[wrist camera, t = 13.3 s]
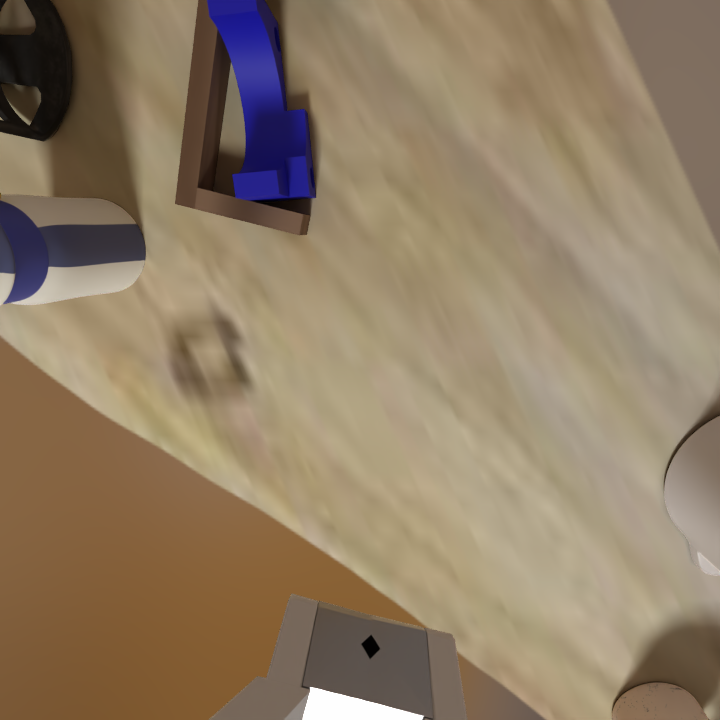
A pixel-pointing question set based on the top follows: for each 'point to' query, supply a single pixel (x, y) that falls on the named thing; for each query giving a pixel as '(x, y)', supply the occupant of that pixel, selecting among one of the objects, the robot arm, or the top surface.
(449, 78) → the top surface
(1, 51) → the holder
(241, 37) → the cable clip
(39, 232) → the water bottle
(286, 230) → the bracket
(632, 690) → the teacup with lid
